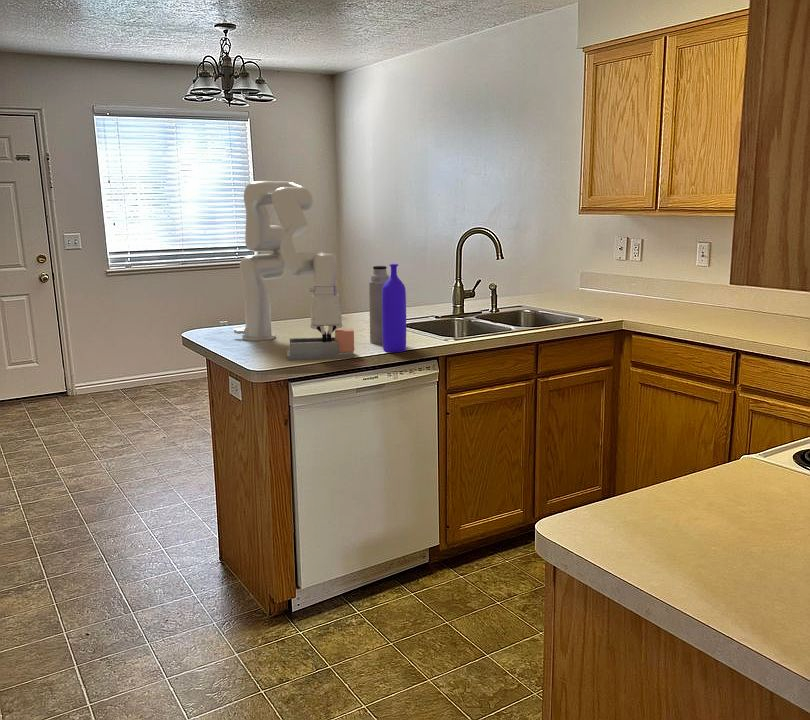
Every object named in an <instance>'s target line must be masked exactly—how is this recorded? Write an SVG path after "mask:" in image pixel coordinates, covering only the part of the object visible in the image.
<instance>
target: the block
mask: <svg viewBox="0 0 810 720" xmlns="http://www.w3.org/2000/svg"><path fill="white" fill-rule="evenodd" d="M334 337H335V341H338V347H339V352H353V353H354V352H355V330H354V329H353V327H349V328H348V327H344V328H342V327H341V328H338V329H335V330H334Z"/></svg>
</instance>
